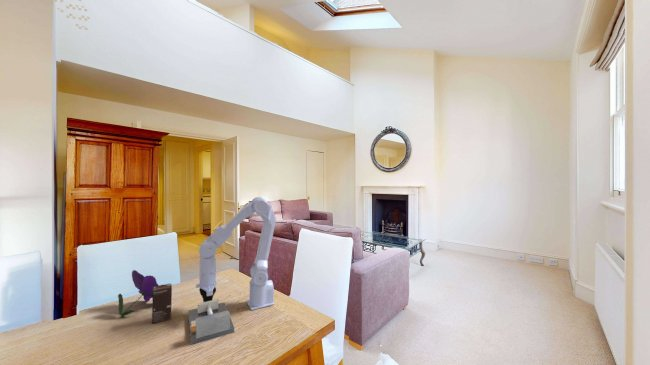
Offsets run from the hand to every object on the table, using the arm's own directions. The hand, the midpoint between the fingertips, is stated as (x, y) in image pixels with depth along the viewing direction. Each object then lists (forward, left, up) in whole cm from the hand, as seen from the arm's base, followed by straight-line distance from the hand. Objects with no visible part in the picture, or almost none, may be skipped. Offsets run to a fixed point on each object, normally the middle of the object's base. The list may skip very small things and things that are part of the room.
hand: (207, 306), depth 98 cm
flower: (+23, -15, -3) cm, 28 cm away
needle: (+3, +13, 0) cm, 13 cm away
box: (+15, -3, -2) cm, 15 cm away
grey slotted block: (0, +6, 0) cm, 6 cm away
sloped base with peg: (0, +8, -2) cm, 8 cm away
